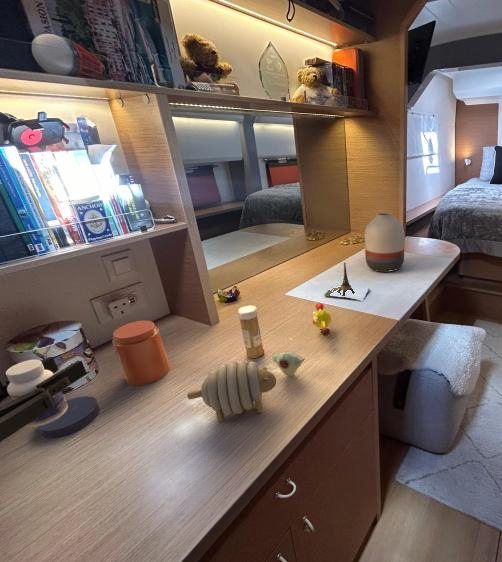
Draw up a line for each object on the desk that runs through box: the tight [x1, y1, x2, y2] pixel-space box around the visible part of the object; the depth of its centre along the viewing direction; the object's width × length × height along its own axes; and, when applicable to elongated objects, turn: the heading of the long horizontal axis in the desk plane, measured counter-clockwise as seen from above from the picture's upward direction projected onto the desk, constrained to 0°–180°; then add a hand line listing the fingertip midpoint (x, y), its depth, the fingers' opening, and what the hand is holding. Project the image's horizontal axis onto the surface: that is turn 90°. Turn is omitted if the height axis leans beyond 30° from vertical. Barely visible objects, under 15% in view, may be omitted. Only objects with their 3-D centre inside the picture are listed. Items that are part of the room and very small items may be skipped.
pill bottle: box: [5, 359, 68, 428], centre depth 54 cm, size 5×5×10 cm
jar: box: [111, 320, 171, 386], centre depth 81 cm, size 9×9×13 cm
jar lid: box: [36, 395, 101, 439], centre depth 70 cm, size 10×10×2 cm
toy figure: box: [311, 302, 332, 337], centre depth 99 cm, size 18×6×7 cm, turn 14°
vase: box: [364, 212, 406, 272], centre depth 145 cm, size 17×17×24 cm
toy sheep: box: [187, 360, 277, 423], centre depth 69 cm, size 11×17×11 cm, turn 112°
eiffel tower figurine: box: [323, 259, 355, 297], centre depth 122 cm, size 15×10×13 cm
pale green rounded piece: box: [272, 351, 306, 376], centre depth 80 cm, size 8×4×7 cm, turn 78°
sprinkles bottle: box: [237, 305, 265, 359], centre depth 88 cm, size 5×5×13 cm
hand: (67, 365), depth 59 cm, fingers closed on pill bottle, 5 cm apart
